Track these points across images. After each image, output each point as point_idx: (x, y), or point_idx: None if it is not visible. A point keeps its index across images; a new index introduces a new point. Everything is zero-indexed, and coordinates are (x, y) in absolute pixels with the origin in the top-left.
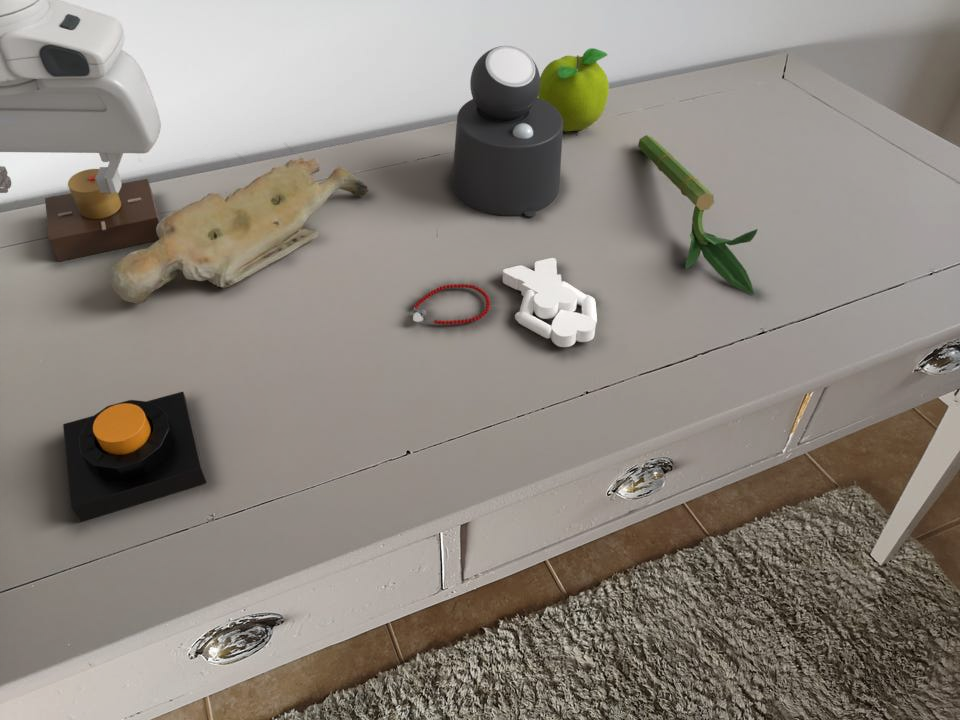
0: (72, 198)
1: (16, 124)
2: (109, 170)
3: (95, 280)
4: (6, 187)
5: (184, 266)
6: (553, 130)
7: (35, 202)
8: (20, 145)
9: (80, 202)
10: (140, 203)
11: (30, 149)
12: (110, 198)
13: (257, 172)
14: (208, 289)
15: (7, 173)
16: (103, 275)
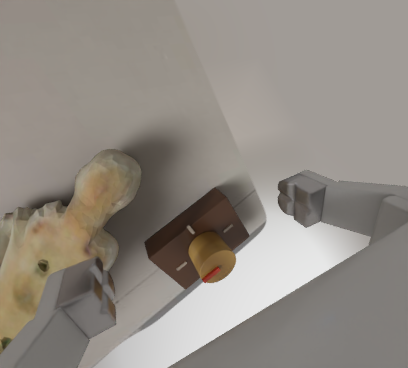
0: (230, 244)
1: None
2: (18, 353)
3: (175, 177)
4: (283, 191)
5: (54, 210)
6: None
7: (256, 232)
8: (340, 314)
9: (217, 242)
10: (174, 265)
11: (292, 313)
12: (195, 257)
13: (112, 336)
14: (49, 202)
15: (294, 218)
16: (171, 185)
